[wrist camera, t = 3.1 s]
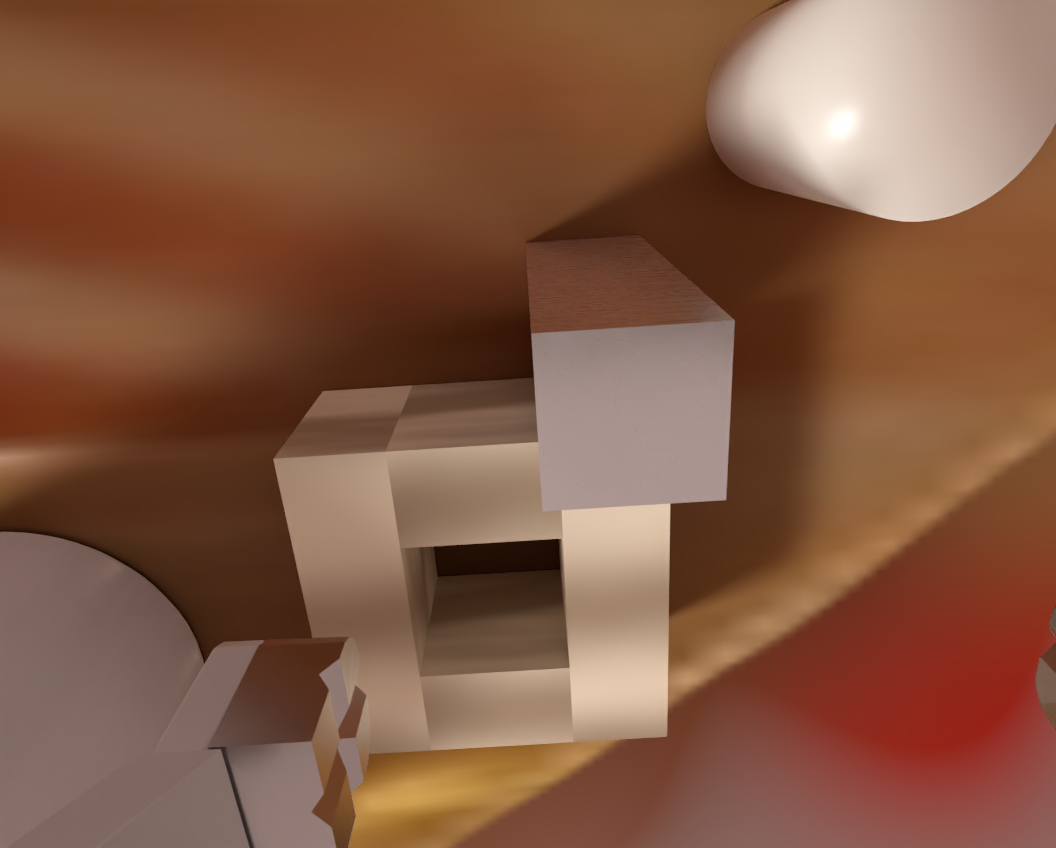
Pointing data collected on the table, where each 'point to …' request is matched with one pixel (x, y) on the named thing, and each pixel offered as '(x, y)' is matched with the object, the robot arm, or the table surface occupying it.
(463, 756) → the table surface
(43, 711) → the utensil holder
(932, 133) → the white rounded block
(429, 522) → the socket block
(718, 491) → the square bar
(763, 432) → the table surface
